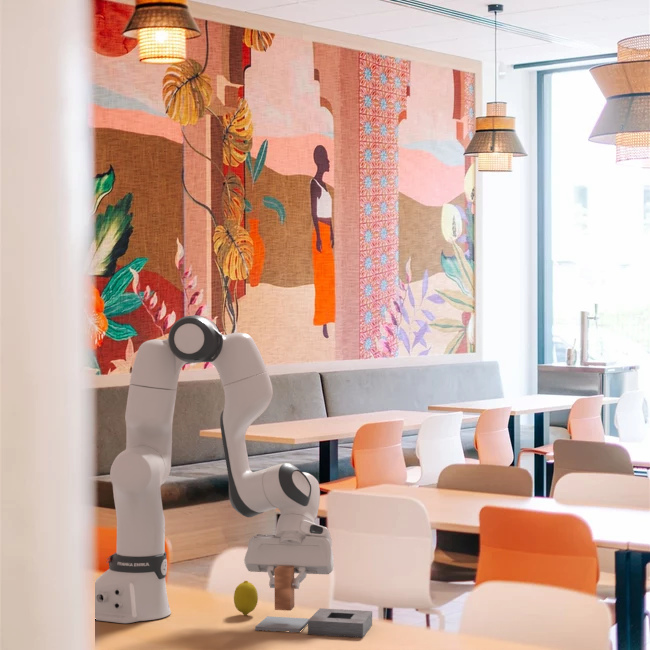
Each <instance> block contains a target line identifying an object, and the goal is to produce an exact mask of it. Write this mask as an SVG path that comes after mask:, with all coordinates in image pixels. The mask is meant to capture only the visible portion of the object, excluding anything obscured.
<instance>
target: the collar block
mask: <svg viewBox="0 0 650 650" xmlns="http://www.w3.org/2000/svg"><path fill="white" fill-rule="evenodd" d="M308 619H309V620H308V625H307V635H308V634H315V635H314V636H324V635H327V636H326V637H340V638H341V637H342V638H343V637H344V638H358V639H359V638H361V639H363V638H364V637H365V635H366V634H367V633H368V631H369V630H370V628H371V627H372V626H373V610H359V609H358V610H357V609H355V610H354V609H340V608H321V607H320V608H319V609H317V611H315V613H314V614H312V616H311V617H310V618H308Z"/></svg>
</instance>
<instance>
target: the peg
mask: <svg viewBox="0 0 650 650" xmlns="http://www.w3.org/2000/svg"><path fill="white" fill-rule="evenodd" d="M274 571H275V575H274V577H275V588H274V611H292V610H293V609H294V608H295V589H292V587H291V582H292V578H295V573H294V566H278V567H276V568H275V569H274Z"/></svg>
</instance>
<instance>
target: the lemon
mask: <svg viewBox="0 0 650 650" xmlns="http://www.w3.org/2000/svg"><path fill="white" fill-rule="evenodd" d="M258 598H259V597H258V590H257V587H256V586H255V585H254V584H253V583H251V582H249V581H248V580H244V581H243V582H241V583H239V584H238V585H237V586H236V588H235V590H234V594H233V603H234V606H235V608H236V610H237V611H238V612H240V613H242V614H243V615H244V616H248V615H247V614H249V613H252V612H253V611H254V610H255V608H257V606H258V601H259V599H258Z"/></svg>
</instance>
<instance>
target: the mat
mask: <svg viewBox="0 0 650 650" xmlns="http://www.w3.org/2000/svg"><path fill="white" fill-rule="evenodd" d="M309 619H310V618H307V617H306V618H305V617H290V616H289V617H288V616H287V617H285V616H271V615H270V616H269V615H267V616H266V617H265V618H264V619H262V620H261V621H260V622H259V623H257V625H256V626H255V627H254V628H255V631H259V630H262V632H264V630H265V632H276V631H289V632H288V633H293V632H300V631H301V630H302V629H303V628H304V627H305V626H306V625H307V624H308V620H309ZM307 626H308V625H307ZM307 626H306V627H307ZM306 627H305V628H306ZM305 628H304V629H305ZM304 629H303V630H304ZM268 630H270V631H268ZM303 630H302V631H303ZM302 631H301V632H302ZM301 632H300V633H301Z"/></svg>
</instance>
